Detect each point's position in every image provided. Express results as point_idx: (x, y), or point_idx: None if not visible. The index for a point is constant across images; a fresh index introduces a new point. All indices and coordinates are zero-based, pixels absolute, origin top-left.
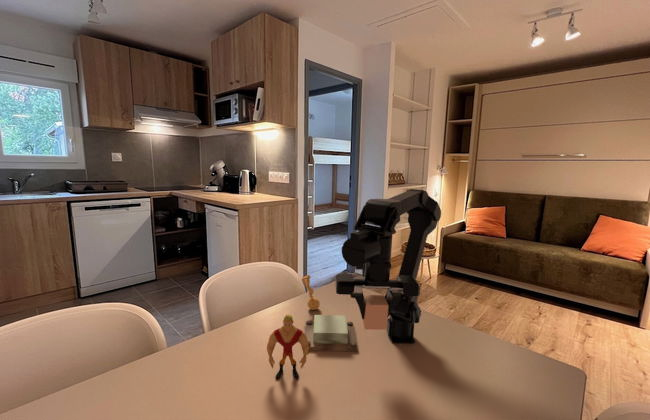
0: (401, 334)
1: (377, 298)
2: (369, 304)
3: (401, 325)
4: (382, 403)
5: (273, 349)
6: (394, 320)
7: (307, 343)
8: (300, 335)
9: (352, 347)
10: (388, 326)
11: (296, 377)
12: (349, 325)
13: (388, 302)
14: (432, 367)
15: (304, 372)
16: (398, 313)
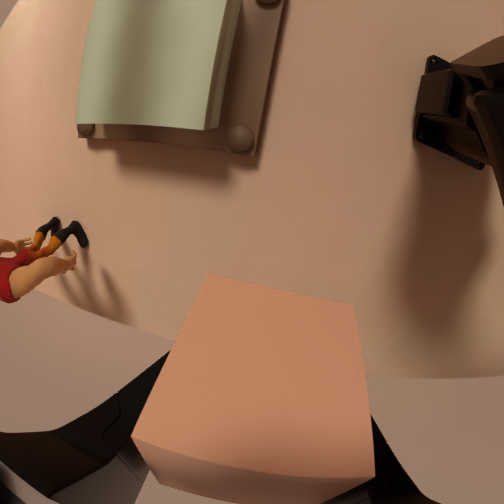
0: (459, 150)
1: (271, 489)
2: (180, 489)
3: (479, 157)
4: None
5: (6, 248)
6: (469, 130)
7: (45, 277)
8: (15, 298)
9: (233, 152)
10: (434, 97)
11: (82, 246)
12: (262, 4)
13: (330, 500)
14: (448, 276)
15: (95, 226)
16: (500, 194)
